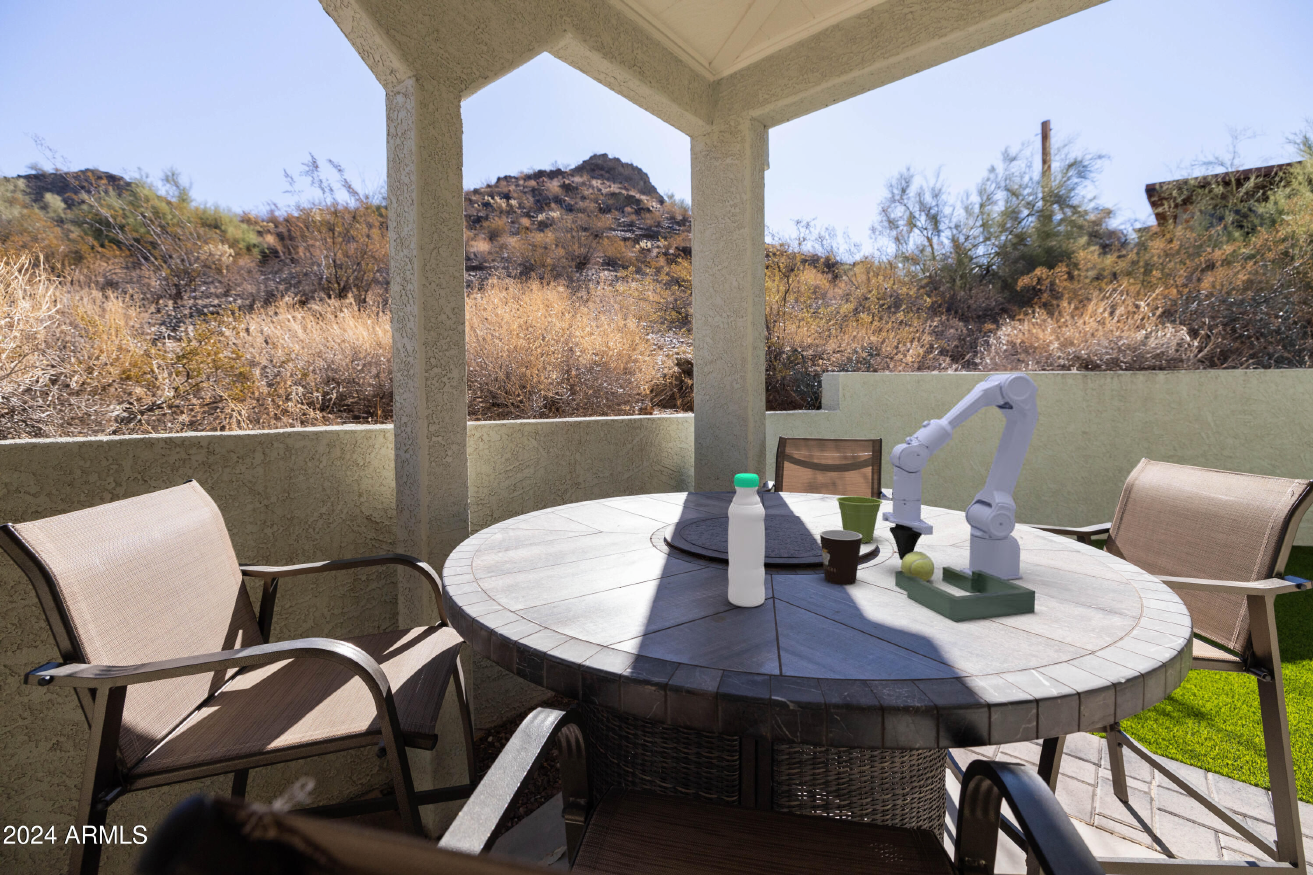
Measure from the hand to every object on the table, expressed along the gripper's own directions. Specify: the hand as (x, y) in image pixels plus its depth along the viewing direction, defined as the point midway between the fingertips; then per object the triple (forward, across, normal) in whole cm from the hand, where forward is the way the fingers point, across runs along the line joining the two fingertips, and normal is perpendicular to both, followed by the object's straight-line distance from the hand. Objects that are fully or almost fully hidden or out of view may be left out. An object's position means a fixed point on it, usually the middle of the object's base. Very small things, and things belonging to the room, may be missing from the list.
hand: (905, 559), depth 129 cm
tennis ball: (+4, +4, 0) cm, 5 cm away
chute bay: (+3, +14, 0) cm, 15 cm away
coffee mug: (+4, -2, -15) cm, 16 cm away
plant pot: (+4, -29, +7) cm, 30 cm away
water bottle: (+4, +6, -40) cm, 41 cm away
